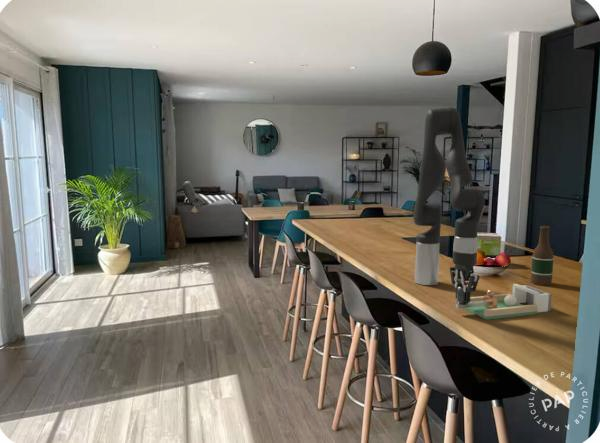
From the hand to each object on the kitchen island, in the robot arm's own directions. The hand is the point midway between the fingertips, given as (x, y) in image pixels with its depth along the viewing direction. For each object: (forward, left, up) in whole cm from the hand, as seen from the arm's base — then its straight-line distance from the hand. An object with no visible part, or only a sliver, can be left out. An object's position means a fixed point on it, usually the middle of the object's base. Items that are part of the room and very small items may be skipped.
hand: (462, 300), depth 157 cm
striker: (0, +5, -3) cm, 6 cm away
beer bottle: (-24, +54, -5) cm, 59 cm away
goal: (0, +27, -5) cm, 27 cm away
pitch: (0, +14, -5) cm, 15 cm away
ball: (0, +19, -2) cm, 19 cm away
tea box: (-63, +54, -5) cm, 83 cm away
